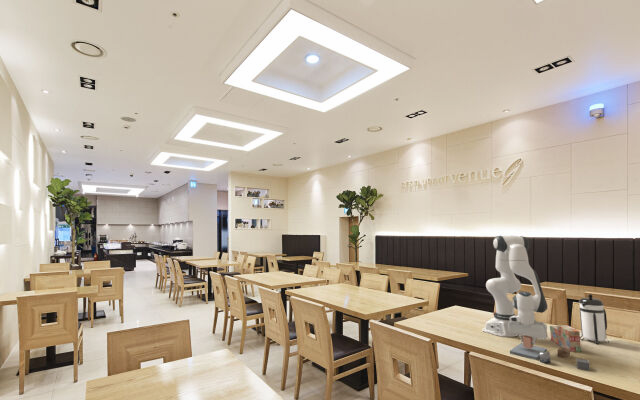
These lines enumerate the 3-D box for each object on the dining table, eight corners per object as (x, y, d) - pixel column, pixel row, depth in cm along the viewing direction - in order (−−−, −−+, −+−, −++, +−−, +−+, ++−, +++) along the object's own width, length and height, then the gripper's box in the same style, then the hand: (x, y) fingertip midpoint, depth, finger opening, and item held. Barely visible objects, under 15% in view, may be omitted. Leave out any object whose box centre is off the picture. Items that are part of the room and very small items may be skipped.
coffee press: (614, 346, 205) (609, 297, 207) (581, 342, 213) (577, 295, 216) (608, 338, 219) (604, 292, 222) (577, 335, 228) (574, 290, 230)
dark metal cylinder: (538, 362, 184) (537, 352, 184) (541, 359, 187) (540, 350, 187) (549, 364, 180) (548, 355, 180) (551, 362, 183) (551, 352, 184)
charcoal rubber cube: (577, 369, 174) (577, 361, 174) (576, 365, 178) (576, 358, 179) (590, 371, 171) (589, 363, 172) (588, 367, 176) (588, 360, 176)
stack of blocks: (550, 339, 220) (549, 320, 221) (560, 340, 219) (559, 321, 220) (570, 351, 199) (568, 330, 200) (581, 352, 198) (579, 330, 199)
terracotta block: (523, 347, 199) (522, 336, 199) (525, 345, 201) (525, 335, 202) (531, 348, 196) (530, 338, 196) (533, 347, 198) (532, 336, 199)
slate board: (509, 353, 197) (509, 350, 197) (521, 345, 210) (521, 342, 210) (536, 360, 186) (536, 357, 187) (547, 351, 200) (547, 348, 200)
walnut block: (557, 356, 191) (557, 349, 191) (559, 354, 195) (559, 347, 195) (568, 359, 187) (567, 351, 188) (570, 356, 191) (569, 349, 191)
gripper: (548, 321, 194) (550, 346, 193) (510, 315, 210) (511, 337, 208) (545, 324, 190) (546, 348, 189) (506, 317, 205) (508, 340, 204)
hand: (528, 343), depth 199 cm, fingers closed on terracotta block, 4 cm apart
